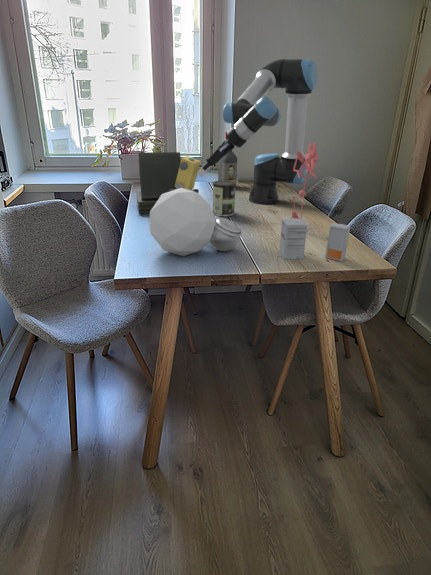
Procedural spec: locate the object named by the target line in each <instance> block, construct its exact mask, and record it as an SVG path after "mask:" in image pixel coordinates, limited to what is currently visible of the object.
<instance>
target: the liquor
mask: <svg viewBox="0 0 431 575" xmlns="http://www.w3.org/2000/svg"><path fill="white" fill-rule="evenodd" d="M227 132H228V131H225V136H224V138H225V140H229V138H228V136H227ZM217 166H218V167H217V168H218V171H217V181H232V182H235V183H236V185H235V188H236V187H237V176H238V156H236V153H235V152H234V151H233V149H232V150H230V151H229V152H228V153H227V154H226V155H225V156H224V157H223V158H221V159H220V160H219V161H218V165H217Z"/></svg>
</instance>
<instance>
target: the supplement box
mask: <svg viewBox="0 0 431 575" xmlns="http://www.w3.org/2000/svg"><path fill="white" fill-rule="evenodd" d="M280 228H281V229H280V237H279V238H280V239H279V250H278V252H279V254H280V255H281V257H282V256H283V257H282V259H284V260H303V259H304V258H305V257H304V256H305V255H304V254H305V247H306V240H307V234H308V232H307V230H308V224H307V223H306V222H305V220H303V219H302V218H301V219H294V218H292V219H290V218H281V227H280Z"/></svg>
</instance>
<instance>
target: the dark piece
mask: <svg viewBox="0 0 431 575" xmlns="http://www.w3.org/2000/svg"><path fill="white" fill-rule="evenodd" d="M181 158H182V157H181V152H180V151H178V152H177V151H175V152H174V151H171V152H170V151H169V152H168V151H166V152H165V151H164V152H163V151H162V152H161V151H160V152H154V151H153V152H150V151H149V152H148V151H147V152H137V159H138V160H137V161H138V170H139V183H140V191H136V201H137V202H136V204H137V210H138V215H139V216H140V215H142V216H143V215H146V216H147V215H150V211H151V210H152V208H153V207H154V205H155V204H156V202H157V201H158V199H159V198H160V196H161V195H162V194H164V193H167V192H170V190H171V189H176V187H175V183H176V179H177V175H178V171H179V166H180V162H181Z"/></svg>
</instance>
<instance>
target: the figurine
mask: <svg viewBox="0 0 431 575" xmlns="http://www.w3.org/2000/svg"><path fill="white" fill-rule="evenodd" d="M317 150H318V148H317V142H314V143H313V142H312V141H310V142H309V143H308V147H307V153H306V154H305V162H304V157H303V155H302V154H301V153H300V151H298V152H297V157H296V161H295V165H294V170H293V171H296V172H297V173H298V177H299V179H300V177H301V175H302V172H303V170H304V167H306V173H307V175H308V174H310V176H311V177H313V179H315V180H316V181H317V180H318V178H317V176H316V174H315V169H316V163H317V162H318V161H319V154H318V153H317ZM297 158H298V159H299V160H300V162H301V163H303V162H304V163H303V164H302V166H301V167H300V169H301V168H302V167H303V169H302V171H301V173H300V172H299V171H300V169H299V170H295V166H296V162H297ZM306 162H307V164H306ZM303 165H304V166H303ZM299 174H300V176H299ZM302 176H303V177H304V178H305V180H304V186H303V189H300V190H299V192H298V194H297V195H293V197H292V200H293V201H292V202H293V211H292V212H291V217H290V218H289V219H302V217H303V206H304V199H305V196H306V193H307V192H306V191H305V188H306V185H307V182H308V178H307V176H306V177H305V176H304V175H302ZM298 196H300V197H302V200H301V201H302V202H301V211H300V216H299V215H298V213H297V212H296V206H295V198H296V197H298ZM305 221H306V222H307V220H304V222H305ZM308 222H310V223H311V221H310V220H308ZM312 223H313V224H316V222H314V221H312ZM317 225H318V226H320V227H321V228H323V225H320V224H318V223H317ZM307 233H309V230H308V229H307Z"/></svg>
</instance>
